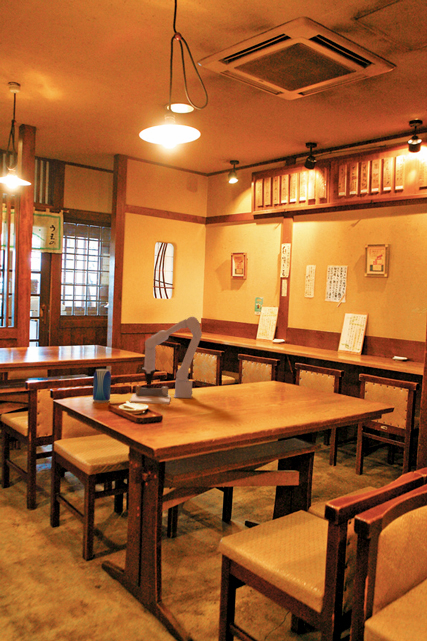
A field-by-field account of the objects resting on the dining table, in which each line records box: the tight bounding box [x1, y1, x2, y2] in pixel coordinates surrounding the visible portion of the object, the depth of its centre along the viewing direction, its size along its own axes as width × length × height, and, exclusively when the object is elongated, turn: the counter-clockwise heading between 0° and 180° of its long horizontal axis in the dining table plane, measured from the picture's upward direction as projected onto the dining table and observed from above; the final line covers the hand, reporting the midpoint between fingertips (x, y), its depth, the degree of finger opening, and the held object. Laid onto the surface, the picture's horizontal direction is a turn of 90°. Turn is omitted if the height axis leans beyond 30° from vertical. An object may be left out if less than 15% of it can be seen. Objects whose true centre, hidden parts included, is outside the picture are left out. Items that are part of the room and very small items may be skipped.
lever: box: [135, 385, 169, 396], centre depth 268 cm, size 17×4×5 cm, turn 93°
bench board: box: [129, 393, 171, 405], centre depth 263 cm, size 20×18×1 cm
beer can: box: [92, 368, 112, 404], centre depth 252 cm, size 8×8×16 cm
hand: (148, 384), depth 275 cm, fingers closed
